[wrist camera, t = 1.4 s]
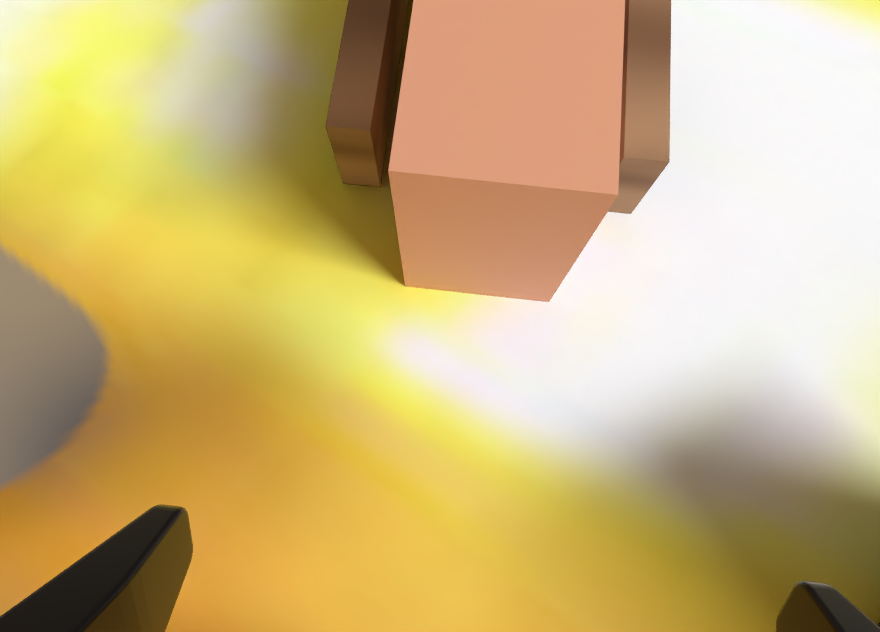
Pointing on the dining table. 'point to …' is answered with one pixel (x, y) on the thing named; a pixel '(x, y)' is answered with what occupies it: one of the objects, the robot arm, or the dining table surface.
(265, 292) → the dining table surface
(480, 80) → the block
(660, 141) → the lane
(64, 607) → the robot arm
